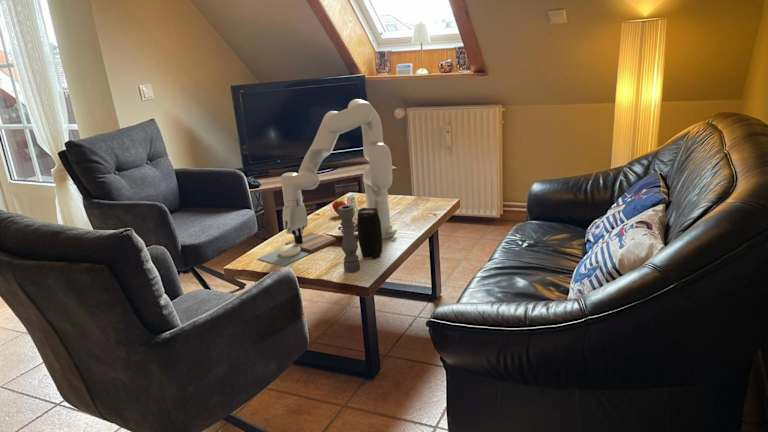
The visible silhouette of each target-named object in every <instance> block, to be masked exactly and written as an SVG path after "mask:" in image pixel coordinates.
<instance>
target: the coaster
mask: <svg viewBox="0 0 768 432" xmlns="http://www.w3.org/2000/svg"><path fill="white" fill-rule="evenodd" d="M278 249H279V255H280V256H281V257H292V256H295V255H297V254H299V253H300V252H301V249H300V246H299V245H297V244H290V245H286V244H285V245H283V246H281V247H280V248H278Z"/></svg>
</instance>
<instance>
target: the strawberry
mask: <svg viewBox="0 0 768 432" xmlns="http://www.w3.org/2000/svg"><path fill="white" fill-rule="evenodd" d="M340 198H341V197H340V196H339V199H335V200H333V203H332V209H333V211H334V212H335V213H336V214H337V215H338V216H339V213H338V207H340V206H343V205H347V203H346V202H345V200H344V198H341V199H340Z"/></svg>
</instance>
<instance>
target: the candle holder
mask: <svg viewBox="0 0 768 432" xmlns="http://www.w3.org/2000/svg"><path fill="white" fill-rule="evenodd" d="M338 213H339V215H338V217H339V219H340V221H341V222H340V226H341V227H342V243H341V249H342V251H343V253H344V255H345V256H344V257H343V270H344V272H345V273H348V274H355V273H357V272H358V273H359V271H361V260H360V259H359V258H360V257H359V255H358V254H357V251H358V249H359V243H358V241H357V238H356V236H355V234H354V233H355V232H354V226H355V221H354V220H353V219H354V216H355V210H354V206H353V205H352V204H346V205H343V206H340V207H338Z"/></svg>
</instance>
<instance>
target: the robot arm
mask: <svg viewBox="0 0 768 432" xmlns="http://www.w3.org/2000/svg"><path fill="white" fill-rule="evenodd" d="M382 124H383V123H382V121H381V118H380V115H379V114H378V112H377V110H375V108H374V107H373V105H372V104H371V103H370V102H369V101H366V100H364V99H361V98H360V99H359V98H355V99H352V100H351V101H350V102H349V103H348V105H347V108H344V109H343V110H340V111H335V110H330V111H327V113H325V115H324V116H323V118H322V121H321V124H320V126H319V128H318V130H317V133H316V135H315V137H314V139H313V142H312V143H311V145H310V146H309V148H308V151H307V152H306V154H305V155H304V158H303V159H302V162H301V164H300V167H299V169H298V172H296V171H295V172H293V171H291V172H285V173H283V174H281V176H280V183H281V184H280V185H281V190H282V195H283V196H282V197H283V204H284V206H283V207H282V222H283V229H284V230H286V234H288V235H293V237H294V238H293V240H294V239H295V243H296V244H302V243H303V240H302V236H303V234H304V230H305V229H306V228H307V227H308V215H307V214H308V213H307V211H306V207H305V204H304V202H303V200H304V196H303V194H302V190H304V191H305V190H308V191H309V190H314V189H316V188H317V187H318V186H319V184H320V177H319V176H318V174H317V172H318V170H319V168H320V166H321V164H322V163H323V160H325V158H327V157H328V156H329V155H331V153H332V152H333V150H334V147H335V145H336V143H337V140H338V138H339V136H340V135H341V134H344V133H347V132H349V131H351V130H354V129H356V128H359V127H361V132H362V150H363V151H362V153H363V156H364V158H365V159H366V160H367V161H368V162H369V163H368V164H369V165H367V167H365V168H364V170H363V173H362V181H363V187H364V190H365V192H364V193H365V198H366V199H365V200H366V201H365V202H366V208H377V210H378V215H379V218H380V222H381V232H382V240H384V239H388V238H391V237H393V236H395V235H396V234H397V233H396V232H397V231H398V229H397V228H395V227H394V228H393V224H392V223H391V219H390V217H391V214H390V206H389V193H388V190H389V189H390V188H391V186H392V184H393V161H392V160H393V159H392V152H391V150H390V147H389V146H388V145H387V144H385V143H384V134H383V125H382Z"/></svg>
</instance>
